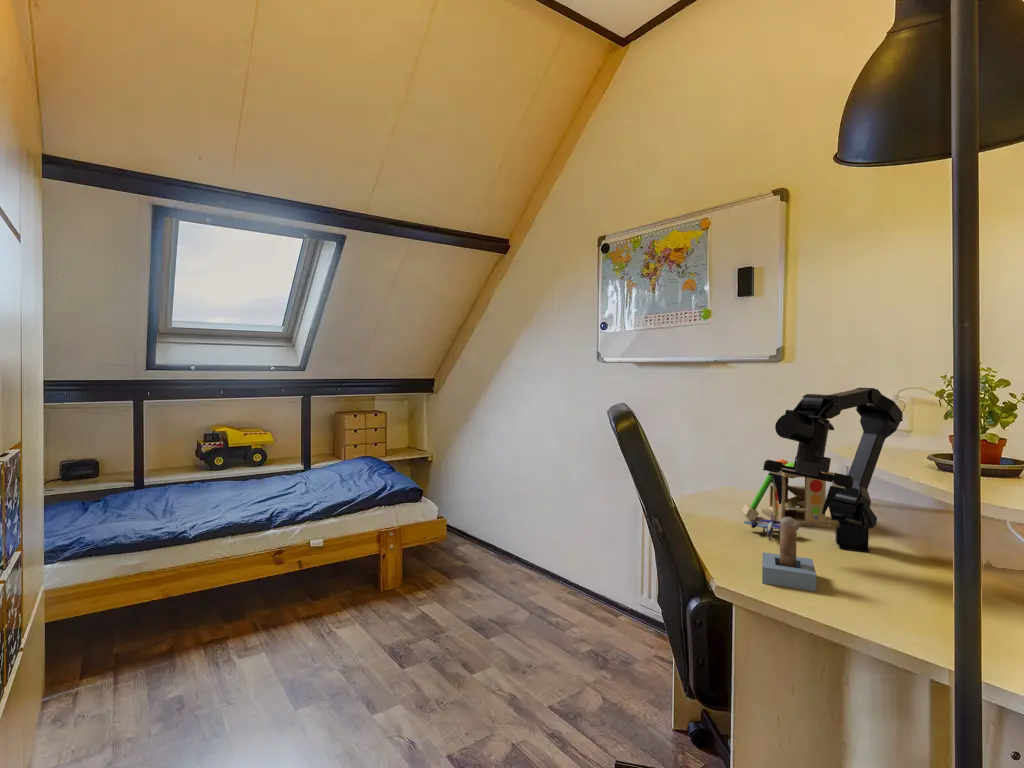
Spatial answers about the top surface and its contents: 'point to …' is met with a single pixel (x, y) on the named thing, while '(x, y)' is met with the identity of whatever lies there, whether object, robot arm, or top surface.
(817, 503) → the pounding bench toy
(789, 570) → the slotted blue base
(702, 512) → the top surface
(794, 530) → the walnut peg
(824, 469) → the robot arm
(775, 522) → the toy airplane
